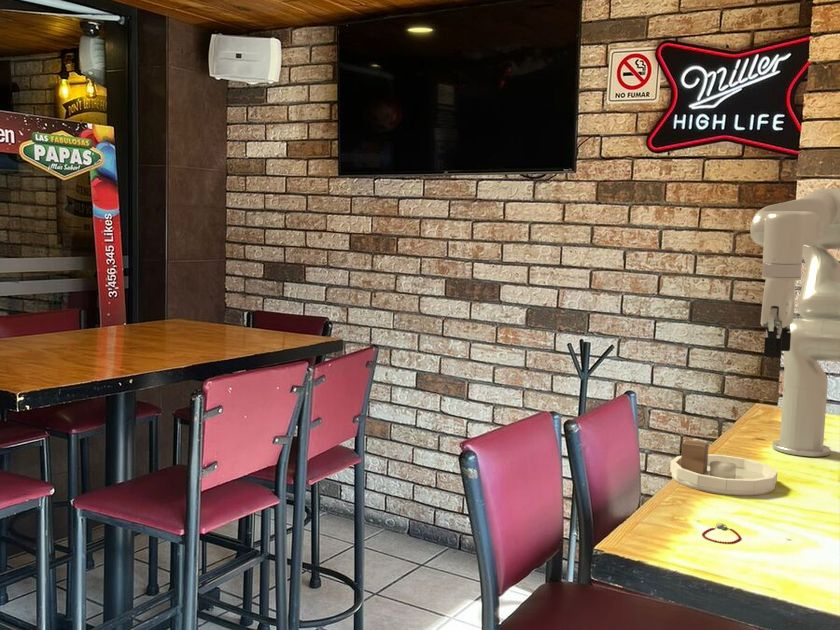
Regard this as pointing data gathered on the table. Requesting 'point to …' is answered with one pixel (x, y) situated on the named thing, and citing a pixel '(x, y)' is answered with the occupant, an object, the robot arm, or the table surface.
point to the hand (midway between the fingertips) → (777, 353)
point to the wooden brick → (695, 456)
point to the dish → (738, 486)
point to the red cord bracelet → (719, 525)
